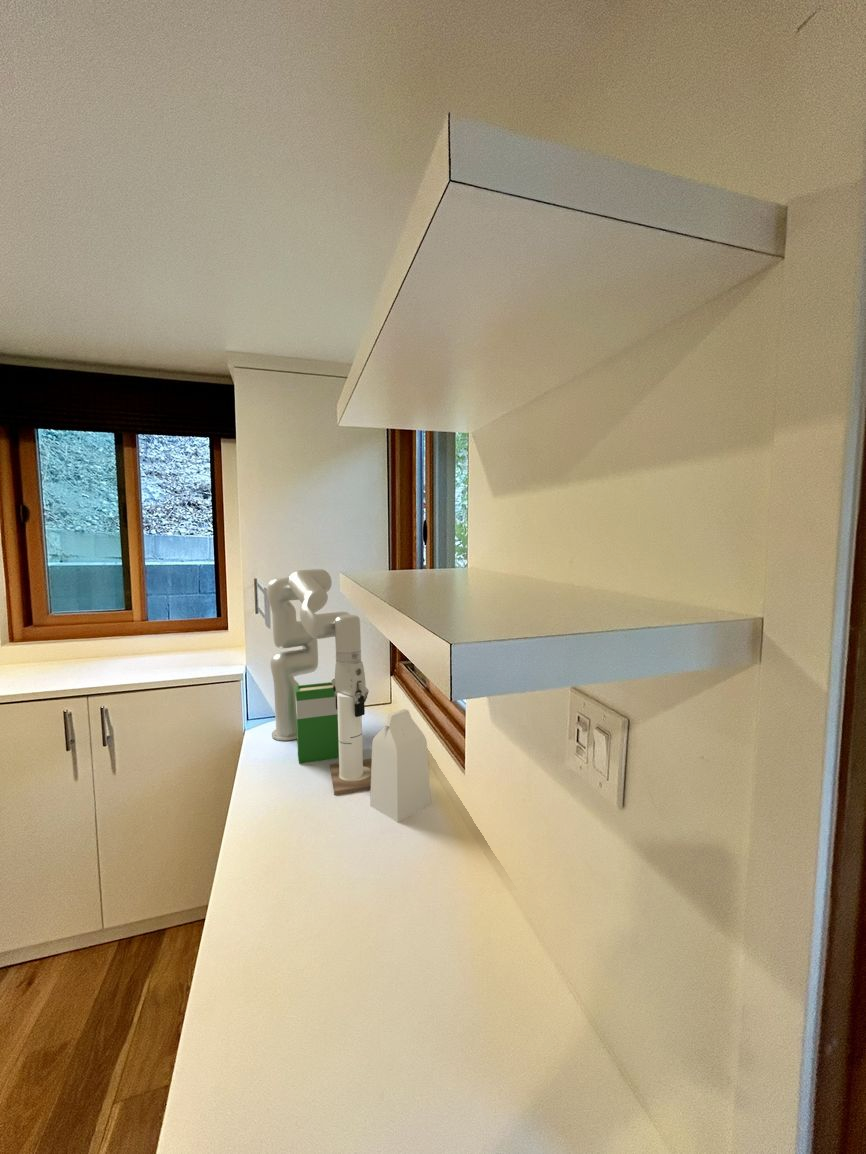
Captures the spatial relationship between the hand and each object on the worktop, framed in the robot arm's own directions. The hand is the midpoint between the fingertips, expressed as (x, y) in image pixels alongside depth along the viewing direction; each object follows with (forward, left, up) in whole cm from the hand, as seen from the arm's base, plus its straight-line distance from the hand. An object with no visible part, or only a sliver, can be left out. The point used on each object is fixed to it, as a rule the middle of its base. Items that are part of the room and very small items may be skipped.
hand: (350, 711), depth 150 cm
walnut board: (0, +1, -21) cm, 21 cm away
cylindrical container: (0, 0, -20) cm, 20 cm away
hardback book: (-19, -7, -21) cm, 29 cm away
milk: (+20, +11, -21) cm, 31 cm away
